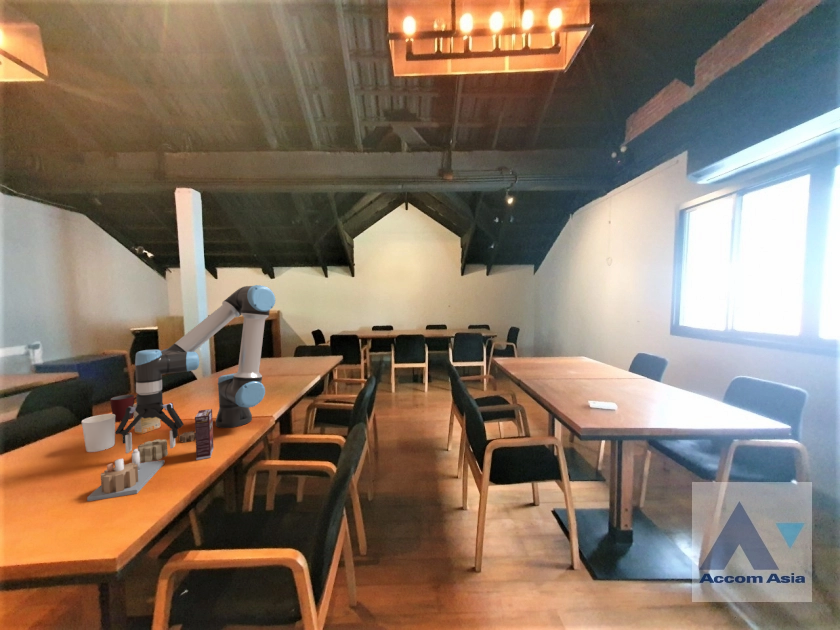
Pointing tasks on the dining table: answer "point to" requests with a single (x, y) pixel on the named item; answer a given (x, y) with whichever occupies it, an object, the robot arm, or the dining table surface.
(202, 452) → the supplement box
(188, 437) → the gear
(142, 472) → the gear board
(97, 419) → the candle holder
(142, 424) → the supplement box
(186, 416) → the dining table surface
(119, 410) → the mug
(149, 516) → the dining table surface
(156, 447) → the maple gear
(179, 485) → the dining table surface
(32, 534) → the dining table surface
